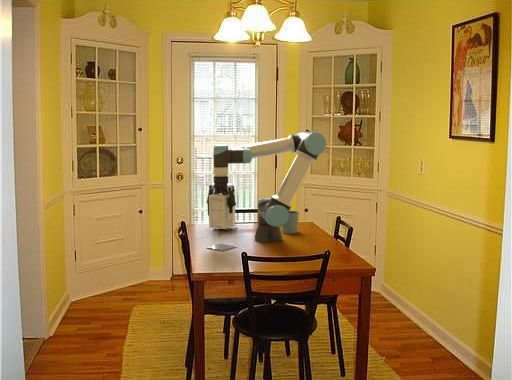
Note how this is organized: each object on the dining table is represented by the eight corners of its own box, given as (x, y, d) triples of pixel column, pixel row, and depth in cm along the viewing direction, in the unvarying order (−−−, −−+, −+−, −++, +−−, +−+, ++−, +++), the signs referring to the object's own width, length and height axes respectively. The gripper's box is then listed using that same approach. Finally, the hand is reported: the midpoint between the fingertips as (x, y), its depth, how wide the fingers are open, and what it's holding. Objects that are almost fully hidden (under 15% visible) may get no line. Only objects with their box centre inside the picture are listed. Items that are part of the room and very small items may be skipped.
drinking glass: (278, 232, 343) (278, 212, 342) (286, 229, 352) (287, 210, 350) (293, 234, 338) (293, 214, 336) (301, 231, 346) (301, 211, 345)
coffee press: (235, 226, 363) (235, 177, 359) (238, 231, 348) (238, 180, 344) (207, 226, 361) (207, 178, 357) (209, 232, 345) (208, 181, 341)
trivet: (236, 247, 307) (236, 246, 307) (223, 251, 298) (223, 250, 298) (220, 244, 313) (220, 243, 313) (206, 248, 304) (206, 247, 304)
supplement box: (233, 226, 306) (233, 194, 304) (224, 229, 298) (225, 196, 296) (217, 224, 310) (217, 192, 308) (208, 227, 302) (208, 195, 300)
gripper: (243, 176, 297) (243, 219, 300) (208, 173, 310) (208, 215, 313) (234, 177, 291) (234, 221, 294) (199, 174, 304) (199, 217, 307)
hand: (221, 218), depth 304 cm, fingers closed on supplement box, 10 cm apart
